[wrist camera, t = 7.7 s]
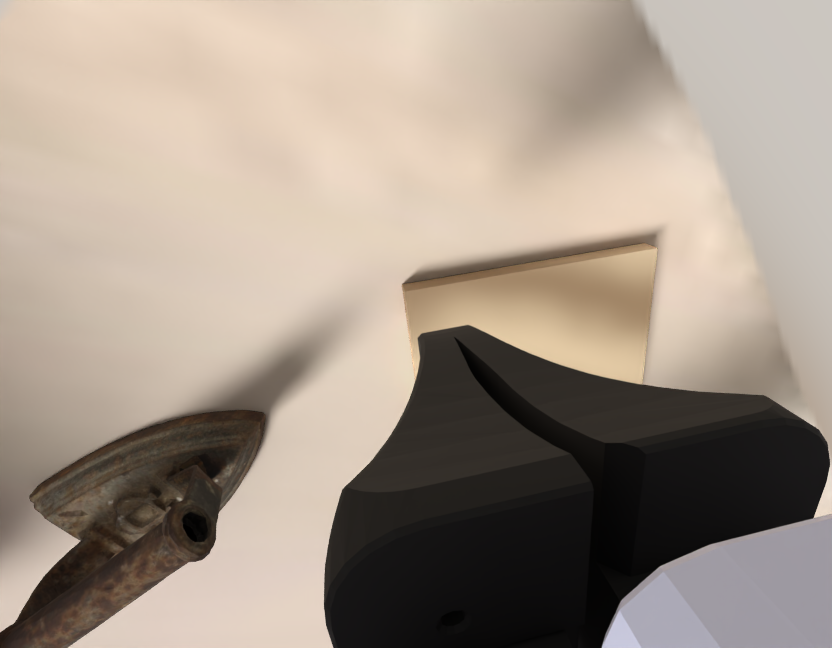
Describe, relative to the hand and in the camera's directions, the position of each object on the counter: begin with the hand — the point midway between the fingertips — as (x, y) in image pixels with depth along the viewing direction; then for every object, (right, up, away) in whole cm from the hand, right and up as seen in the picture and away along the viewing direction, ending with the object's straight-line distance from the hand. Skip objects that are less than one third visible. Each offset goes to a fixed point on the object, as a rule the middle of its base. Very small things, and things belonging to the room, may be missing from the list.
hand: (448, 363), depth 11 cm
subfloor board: (+5, -4, +13) cm, 15 cm away
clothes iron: (-13, -6, +11) cm, 18 cm away
